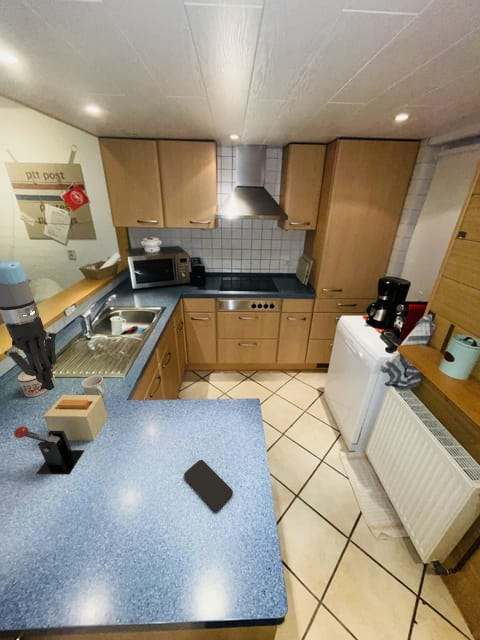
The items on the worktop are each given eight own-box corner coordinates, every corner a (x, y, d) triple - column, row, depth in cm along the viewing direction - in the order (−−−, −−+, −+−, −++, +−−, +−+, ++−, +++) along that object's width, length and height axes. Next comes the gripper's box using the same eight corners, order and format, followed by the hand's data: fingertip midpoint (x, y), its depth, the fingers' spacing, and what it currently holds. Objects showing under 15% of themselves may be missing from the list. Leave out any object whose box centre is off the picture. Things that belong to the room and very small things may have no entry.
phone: (215, 512, 67) (182, 474, 76) (215, 514, 67) (182, 476, 76) (234, 491, 72) (201, 458, 81) (234, 493, 72) (201, 459, 81)
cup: (114, 397, 107) (110, 382, 104) (95, 408, 101) (91, 392, 98) (100, 387, 112) (96, 372, 109) (82, 397, 106) (77, 382, 103)
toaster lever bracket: (37, 475, 76) (23, 449, 71) (55, 452, 83) (44, 426, 78) (70, 476, 76) (59, 449, 71) (85, 452, 83) (76, 426, 78)
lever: (10, 438, 72) (11, 431, 71) (19, 429, 75) (20, 422, 74) (53, 451, 75) (55, 444, 73) (60, 441, 78) (62, 435, 76)
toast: (66, 428, 89) (57, 404, 85) (70, 422, 91) (62, 399, 87) (91, 428, 89) (84, 405, 85) (95, 423, 91) (88, 400, 87)
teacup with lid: (21, 400, 104) (11, 378, 99) (27, 387, 111) (18, 365, 107) (56, 392, 109) (48, 370, 104) (59, 380, 116) (52, 359, 111)
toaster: (54, 441, 87) (43, 415, 82) (71, 419, 96) (63, 394, 91) (94, 442, 87) (86, 416, 82) (108, 419, 96) (101, 395, 91)
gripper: (5, 332, 61) (36, 405, 71) (55, 312, 73) (76, 378, 82) (-15, 327, 63) (18, 399, 73) (36, 309, 75) (59, 373, 84)
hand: (49, 388), depth 78 cm, fingers closed
